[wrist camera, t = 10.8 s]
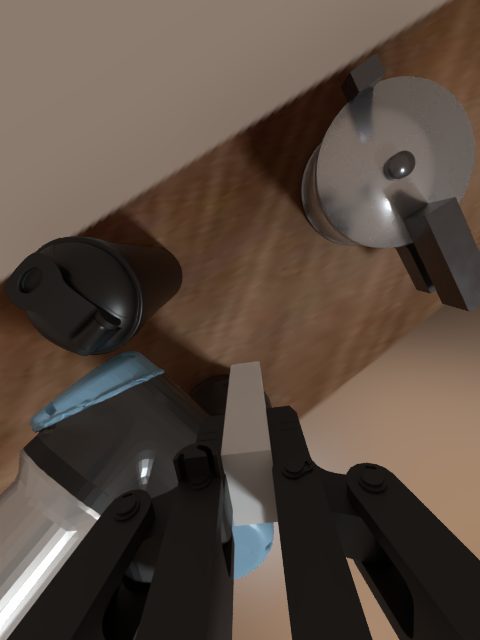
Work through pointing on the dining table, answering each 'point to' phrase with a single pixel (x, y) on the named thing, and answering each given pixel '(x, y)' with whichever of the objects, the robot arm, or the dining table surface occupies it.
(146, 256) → the water bottle
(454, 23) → the dining table surface
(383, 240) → the lid
